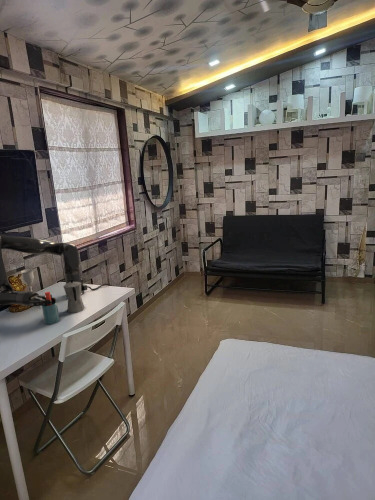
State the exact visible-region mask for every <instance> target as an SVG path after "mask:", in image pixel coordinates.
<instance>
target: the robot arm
mask: <svg viewBox="0 0 375 500" xmlns="http://www.w3.org/2000/svg"><path fill="white" fill-rule="evenodd" d="M3 249H4V250H10V251H14V252H18V253H24V254H29V255H54V256H59V257H62V258H63V266H62V269H63V274H64V275H63V276H64V281H65V284H67V283H69V282H71V281H70V280H71V279H73V282H80V283H81V295H80V296H82V295H84V293H85V291H87V290H88V289H90V290H91V291H95V290H98V289H100V288H101V287H104V286H110V287H111V286H112V284H111V283H103V284H100V285H98V286H97V287H94V288H92V287H91V286H89V285H88V284H84V282H83V278H81V277H82V276H81V270H80V256H79V254H80V253H79V249H78V247H77V246H76V245H75V244H72V243H70V242H54V241H50V240H45V239H41V238H36V237H30V236H10V235H4V234H0V288H2V290H0V305H1V306H6V305H20V306H24V307H30V308H34V307H42V304H43V305H45V304H50V305H51V304H52V302H57V299H56V297H53V295H52V294H51V293H50V296H51V300H46V297H45V294H39V293H38V292H36V291H32V292H30V291H28V290H27V291H25V290H24V291H22V290H21V291H20V290H14V288H13V287H12V285H11V283H10V282H9V279H8V275H7V270H6V267H5V263H4V258H3V252H2V250H3ZM118 333H121V327H120V328H118Z"/></svg>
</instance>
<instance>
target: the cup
mask: <svg viewBox="0 0 375 500" xmlns="http://www.w3.org/2000/svg"><path fill="white" fill-rule="evenodd" d="M41 309H42V315H43V320H44V324H46V325H54V324H57V323H59V321H60V320H61V319H60V313H59V307H58V302H57V301H56V302H52V305H50V306H47V304H45V305H43V304H42V306H41Z"/></svg>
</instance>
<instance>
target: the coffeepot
mask: <svg viewBox="0 0 375 500" xmlns="http://www.w3.org/2000/svg"><path fill="white" fill-rule="evenodd" d="M70 281H71V282H69V283H67V284H66V283H65V284H64V285H63V289H64V292H65V295H66V298H67V312H68V313H70V314H76V313H80V312H82V311H84V309H85V304H84V301H83V299H82V297H81V296H82V295H81V283H80V282H73V279H71V280H70Z"/></svg>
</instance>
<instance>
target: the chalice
mask: <svg viewBox="0 0 375 500" xmlns="http://www.w3.org/2000/svg"><path fill="white" fill-rule="evenodd" d="M20 272H21V275H22V279H23V281H24V282H25V283H26V285H27V286H29V287H28V288H29V292H33V289H32V288H33V287H32V285H33V283H34V279H35V276H34V269H33V268H26V269H23V270H21V271H20Z"/></svg>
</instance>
